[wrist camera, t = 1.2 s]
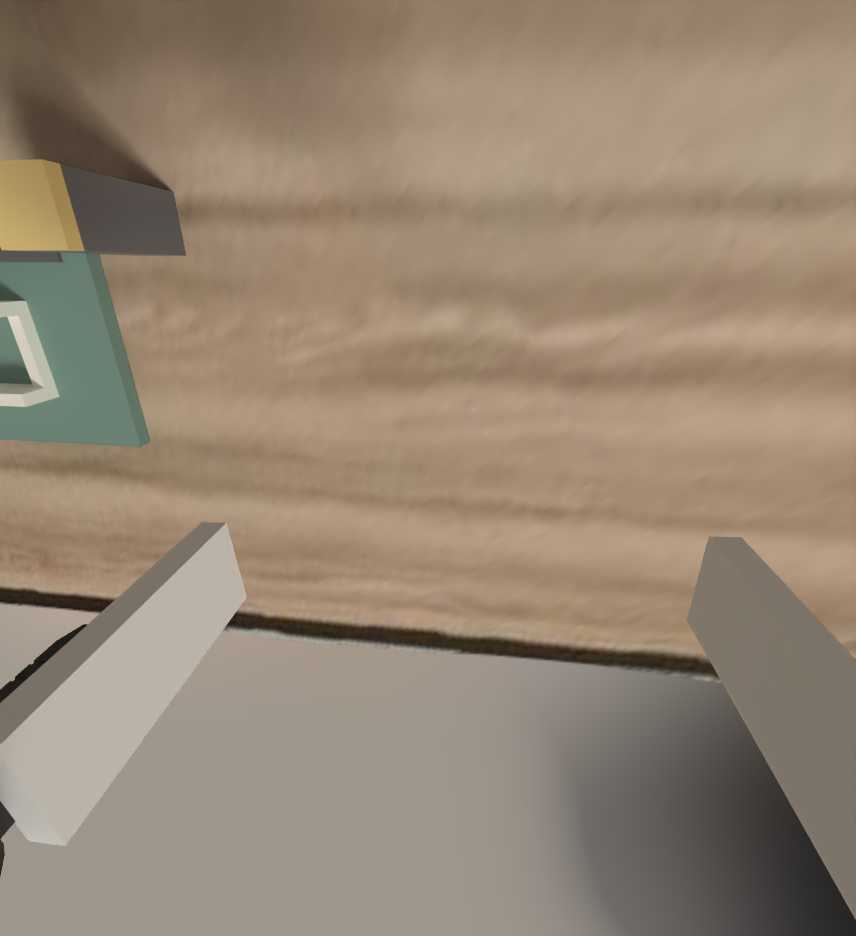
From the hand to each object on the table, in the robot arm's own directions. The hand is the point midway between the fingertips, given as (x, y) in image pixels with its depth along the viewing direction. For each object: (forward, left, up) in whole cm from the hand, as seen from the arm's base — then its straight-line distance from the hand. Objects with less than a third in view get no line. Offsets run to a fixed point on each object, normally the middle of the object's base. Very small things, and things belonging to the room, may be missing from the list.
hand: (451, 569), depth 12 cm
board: (-3, -36, -23) cm, 43 cm away
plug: (-10, -24, -23) cm, 35 cm away
